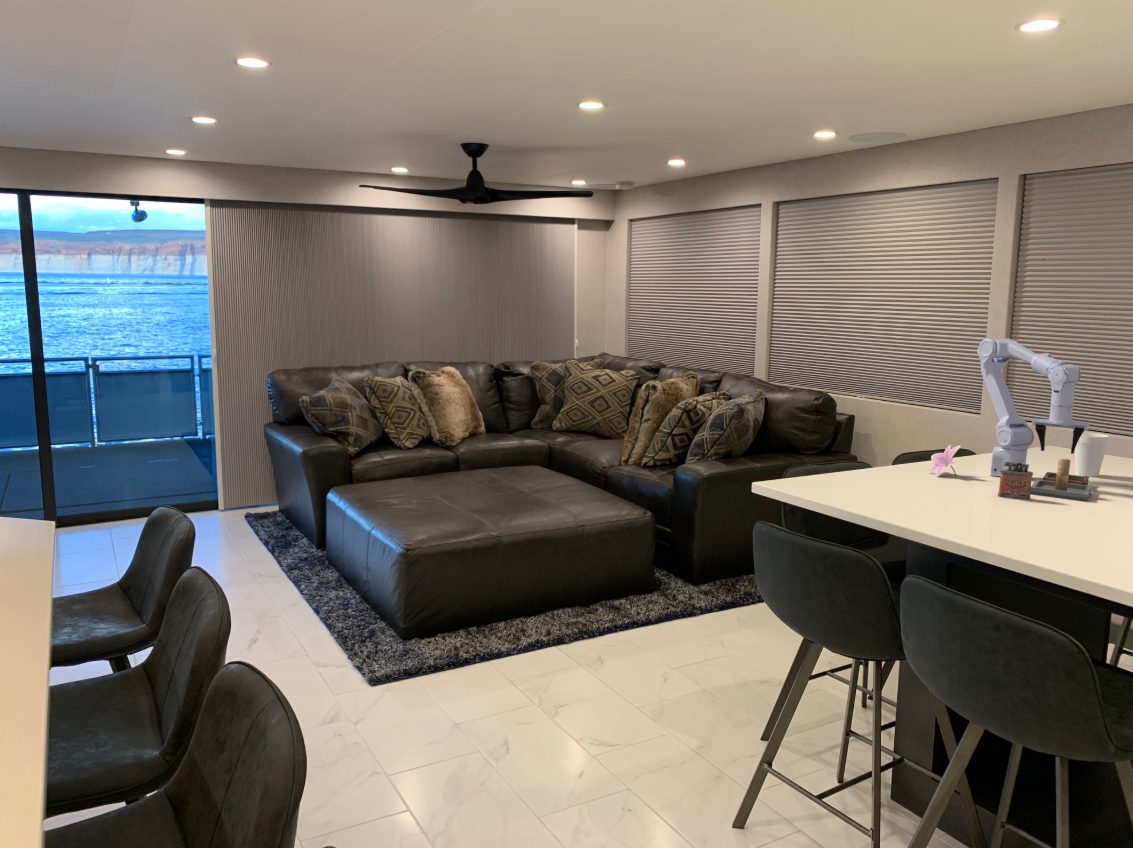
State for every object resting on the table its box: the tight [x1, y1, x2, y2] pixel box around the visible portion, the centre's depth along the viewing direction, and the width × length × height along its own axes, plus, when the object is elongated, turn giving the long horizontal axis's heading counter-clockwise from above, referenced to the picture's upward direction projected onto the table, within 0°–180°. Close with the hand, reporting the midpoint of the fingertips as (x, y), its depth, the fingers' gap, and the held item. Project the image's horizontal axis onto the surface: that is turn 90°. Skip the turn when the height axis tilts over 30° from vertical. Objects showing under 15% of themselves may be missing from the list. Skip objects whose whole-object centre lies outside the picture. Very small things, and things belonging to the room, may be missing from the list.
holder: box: [1042, 471, 1090, 486], centre depth 256 cm, size 11×11×2 cm
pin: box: [1055, 458, 1071, 491], centre depth 244 cm, size 3×3×9 cm
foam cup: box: [1074, 431, 1110, 478], centre depth 273 cm, size 10×9×13 cm
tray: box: [1030, 478, 1092, 503], centre depth 245 cm, size 14×14×2 cm
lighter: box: [997, 461, 1034, 501], centre depth 238 cm, size 8×3×10 cm, turn 71°
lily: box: [928, 444, 961, 478], centre depth 267 cm, size 12×12×10 cm
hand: (1057, 451), depth 253 cm, fingers open, 7 cm apart
